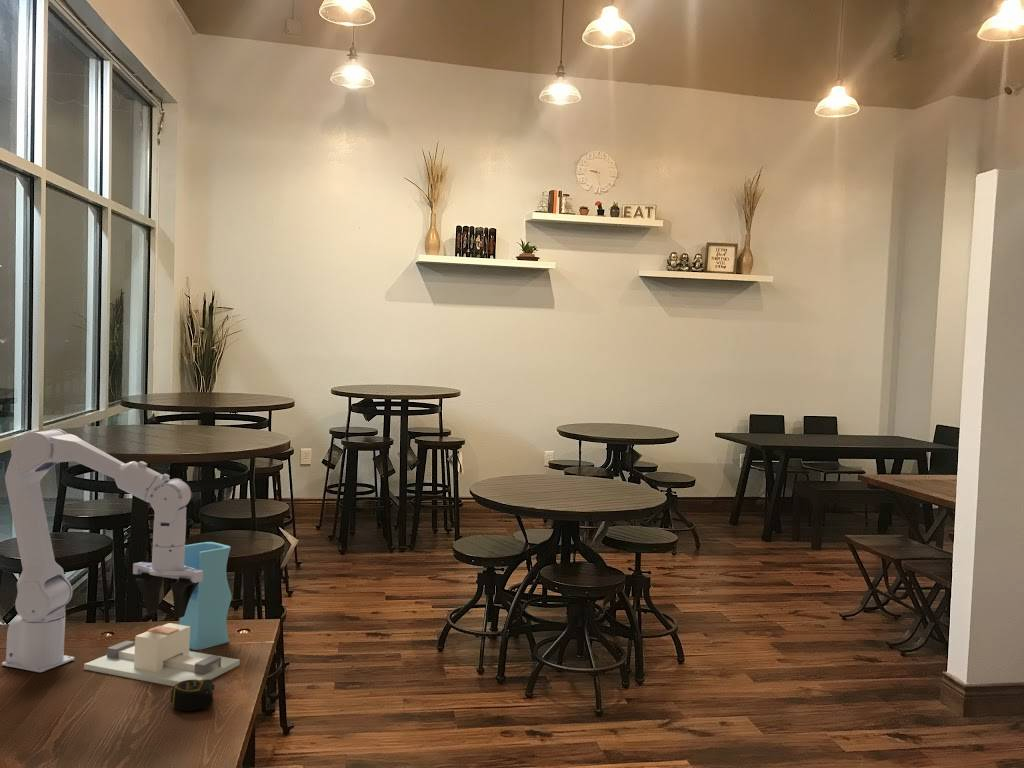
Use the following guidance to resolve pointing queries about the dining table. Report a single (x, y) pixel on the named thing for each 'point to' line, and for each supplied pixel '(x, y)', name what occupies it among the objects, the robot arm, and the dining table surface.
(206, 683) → the tape measure
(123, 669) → the rail board
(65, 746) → the dining table surface
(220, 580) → the vase
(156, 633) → the block
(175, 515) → the robot arm
